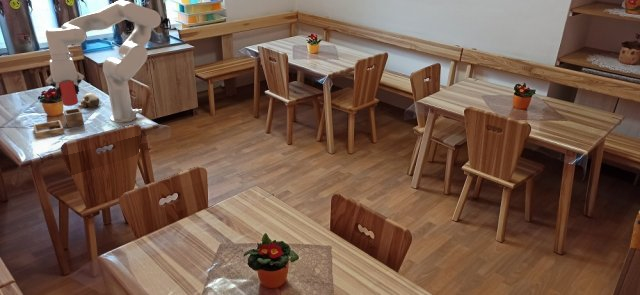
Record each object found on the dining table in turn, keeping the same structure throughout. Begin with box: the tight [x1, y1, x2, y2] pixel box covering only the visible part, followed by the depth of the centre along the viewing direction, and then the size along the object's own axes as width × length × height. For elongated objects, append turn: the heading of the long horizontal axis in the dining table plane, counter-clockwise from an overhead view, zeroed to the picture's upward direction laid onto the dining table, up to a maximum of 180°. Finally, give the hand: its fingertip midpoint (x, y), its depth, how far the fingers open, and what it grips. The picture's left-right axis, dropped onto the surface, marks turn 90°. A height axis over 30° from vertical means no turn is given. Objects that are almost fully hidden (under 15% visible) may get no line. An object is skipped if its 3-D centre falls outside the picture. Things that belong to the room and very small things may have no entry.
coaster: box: [64, 125, 89, 137], centre depth 231 cm, size 9×9×1 cm
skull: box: [77, 92, 100, 110], centre depth 262 cm, size 12×10×10 cm
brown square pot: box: [63, 107, 85, 128], centre depth 238 cm, size 7×7×7 cm
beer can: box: [59, 80, 79, 107], centre depth 223 cm, size 7×7×12 cm
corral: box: [32, 119, 65, 139], centre depth 230 cm, size 12×12×3 cm
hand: (68, 94), depth 223 cm, fingers closed on beer can, 6 cm apart
